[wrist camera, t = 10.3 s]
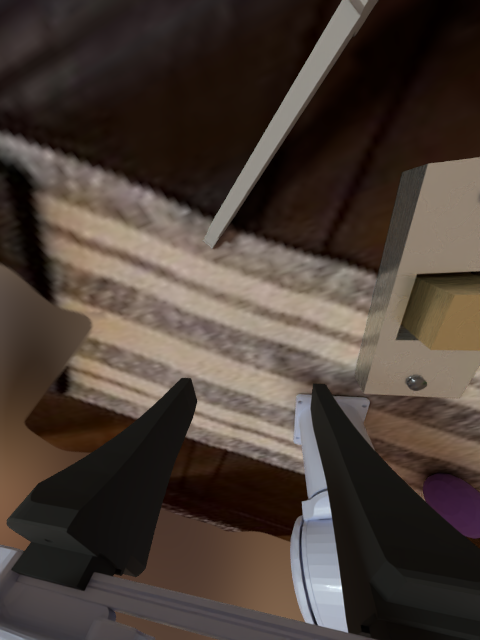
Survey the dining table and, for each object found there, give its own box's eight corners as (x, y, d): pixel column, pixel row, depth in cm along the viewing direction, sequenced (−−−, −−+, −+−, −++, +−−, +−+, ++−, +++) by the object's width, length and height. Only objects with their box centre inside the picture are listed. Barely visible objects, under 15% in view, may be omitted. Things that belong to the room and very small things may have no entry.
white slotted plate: (439, 378, 20) (462, 401, 18) (354, 375, 21) (364, 396, 19) (552, 153, 12) (625, 138, 9) (402, 172, 13) (431, 162, 11)
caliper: (465, -165, 8) (845, -910, 3) (479, -137, 8) (859, -784, 3) (204, 240, 17) (172, 252, 12) (214, 248, 18) (187, 264, 12)
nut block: (443, 316, 17) (500, 351, 13) (392, 317, 18) (430, 349, 14) (463, 270, 15) (537, 293, 11) (405, 273, 16) (454, 295, 12)
